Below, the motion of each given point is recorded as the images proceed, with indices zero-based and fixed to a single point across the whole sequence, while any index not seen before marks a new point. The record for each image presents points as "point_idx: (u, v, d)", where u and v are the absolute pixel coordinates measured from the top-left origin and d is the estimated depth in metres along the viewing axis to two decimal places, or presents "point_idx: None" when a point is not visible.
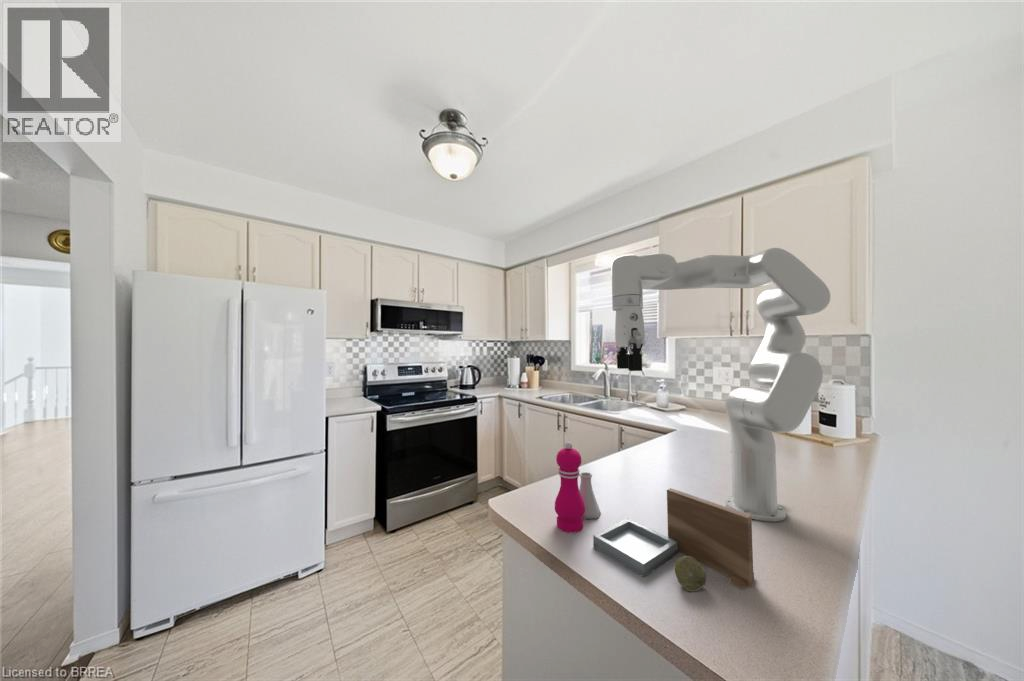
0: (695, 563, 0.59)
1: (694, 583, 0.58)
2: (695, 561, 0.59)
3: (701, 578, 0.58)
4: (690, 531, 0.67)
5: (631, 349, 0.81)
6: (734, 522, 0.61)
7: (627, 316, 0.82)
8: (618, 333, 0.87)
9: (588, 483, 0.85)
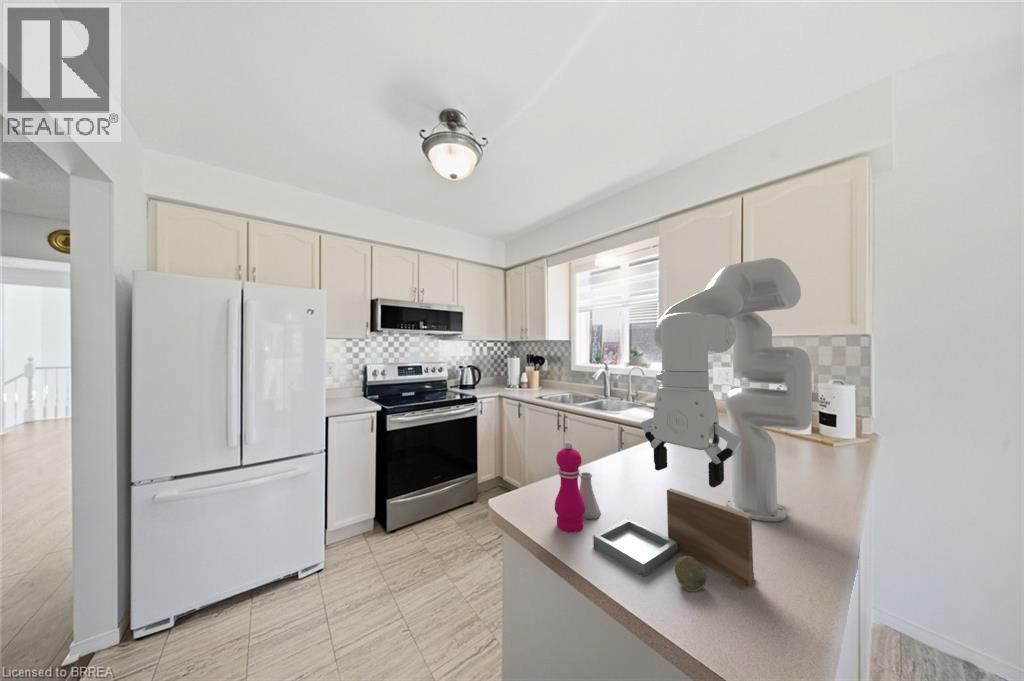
0: (695, 563, 0.59)
1: (694, 583, 0.58)
2: (695, 561, 0.59)
3: (701, 578, 0.58)
4: (690, 531, 0.67)
5: None
6: (734, 522, 0.61)
7: None
8: None
9: (588, 483, 0.85)
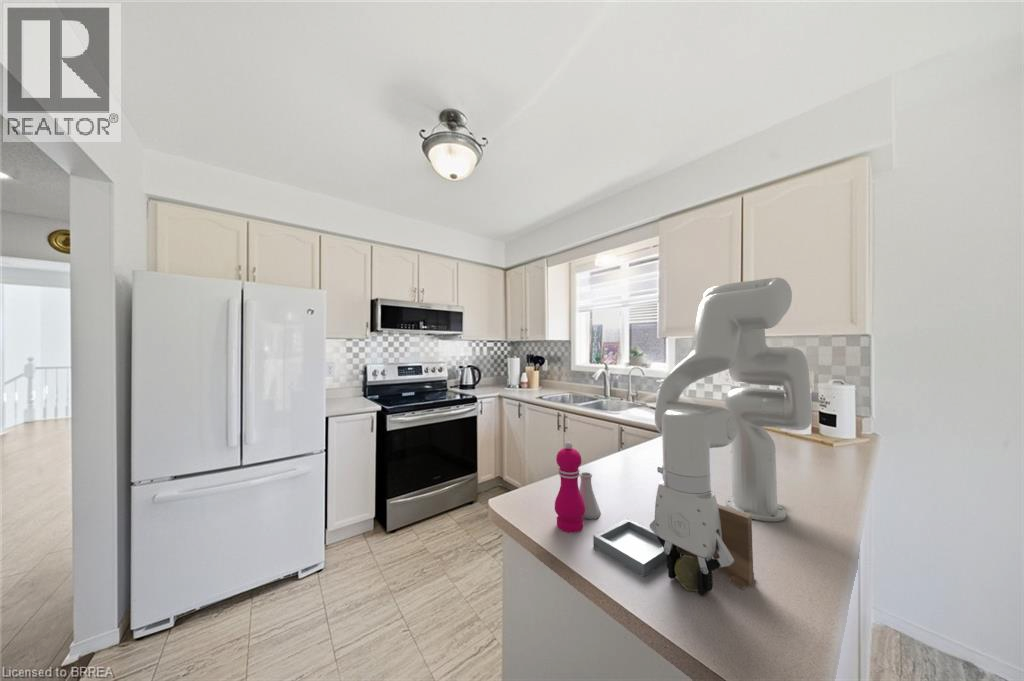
0: (695, 563, 0.59)
1: (694, 583, 0.58)
2: (695, 561, 0.59)
3: None
4: None
5: None
6: (734, 522, 0.61)
7: None
8: None
9: (589, 483, 0.85)
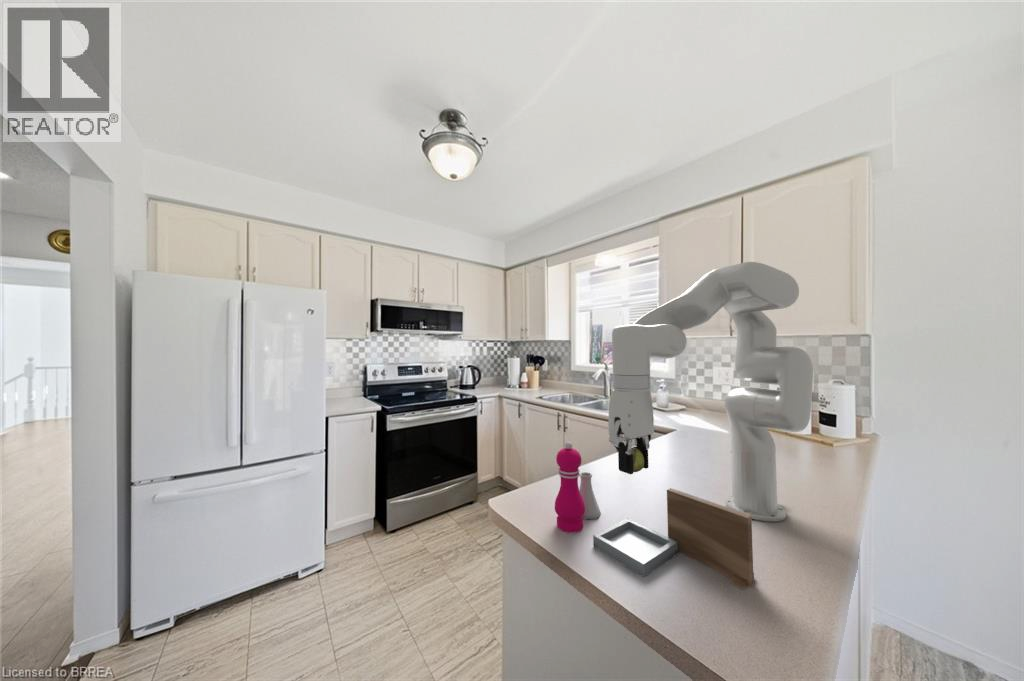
0: (633, 453, 0.69)
1: None
2: (634, 452, 0.69)
3: None
4: (690, 531, 0.67)
5: None
6: (734, 522, 0.61)
7: None
8: (641, 421, 0.68)
9: (589, 483, 0.85)
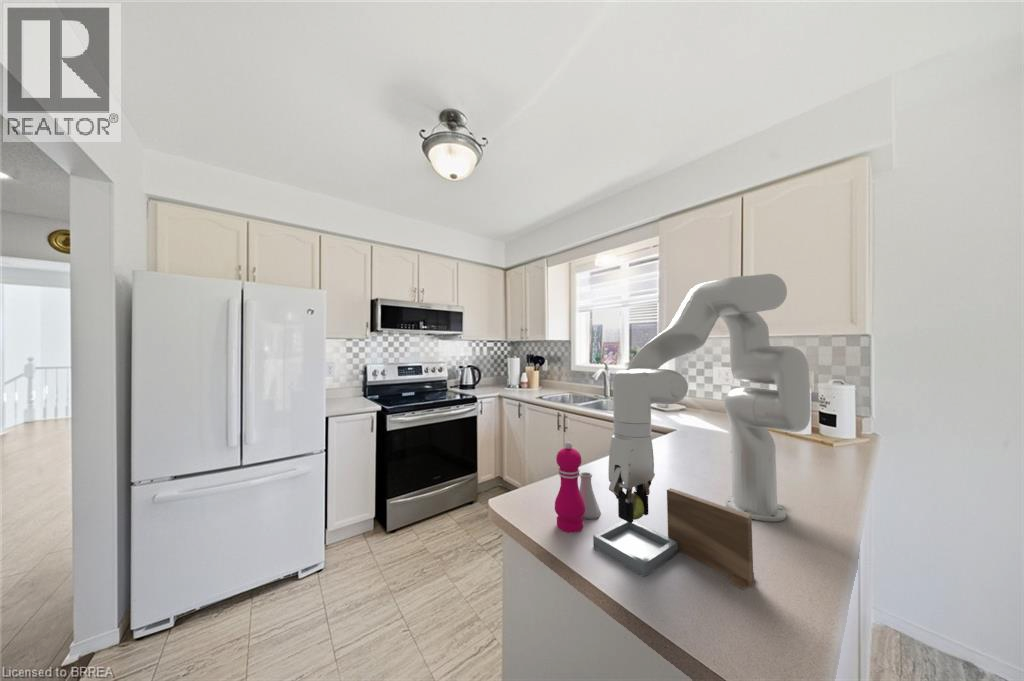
0: (633, 500, 0.69)
1: None
2: (634, 499, 0.69)
3: None
4: (690, 531, 0.67)
5: None
6: (734, 522, 0.61)
7: None
8: (642, 468, 0.68)
9: (589, 483, 0.85)
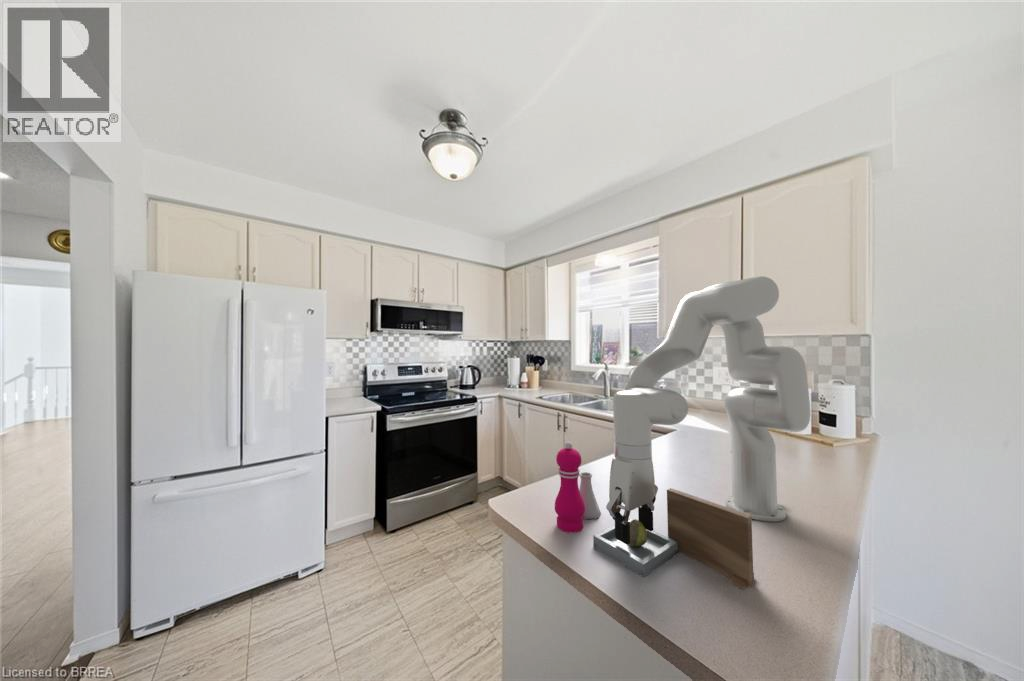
0: (636, 527, 0.69)
1: (631, 539, 0.70)
2: (637, 526, 0.69)
3: (634, 539, 0.68)
4: (690, 531, 0.67)
5: None
6: (734, 522, 0.61)
7: None
8: (642, 490, 0.68)
9: (588, 483, 0.85)
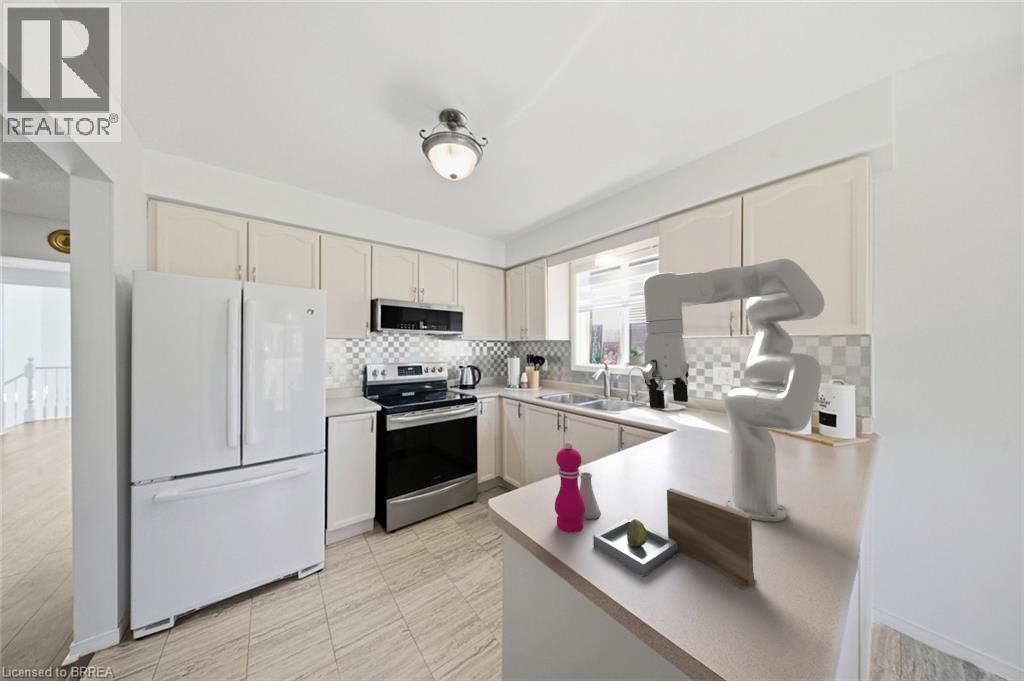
0: (636, 527, 0.69)
1: (631, 539, 0.70)
2: (637, 526, 0.69)
3: (634, 539, 0.68)
4: (690, 531, 0.67)
5: None
6: (734, 522, 0.61)
7: None
8: (676, 363, 0.73)
9: (589, 483, 0.85)
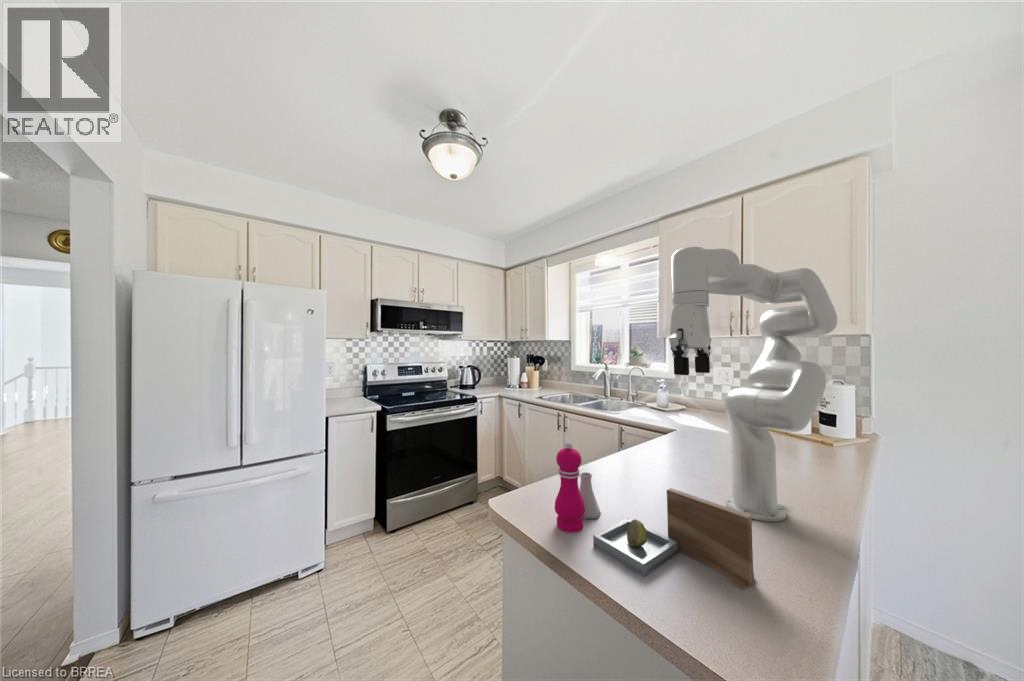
0: (636, 527, 0.69)
1: (631, 539, 0.70)
2: (637, 526, 0.69)
3: (634, 539, 0.68)
4: (690, 531, 0.67)
5: None
6: (734, 522, 0.61)
7: None
8: (701, 333, 0.76)
9: (589, 483, 0.85)
